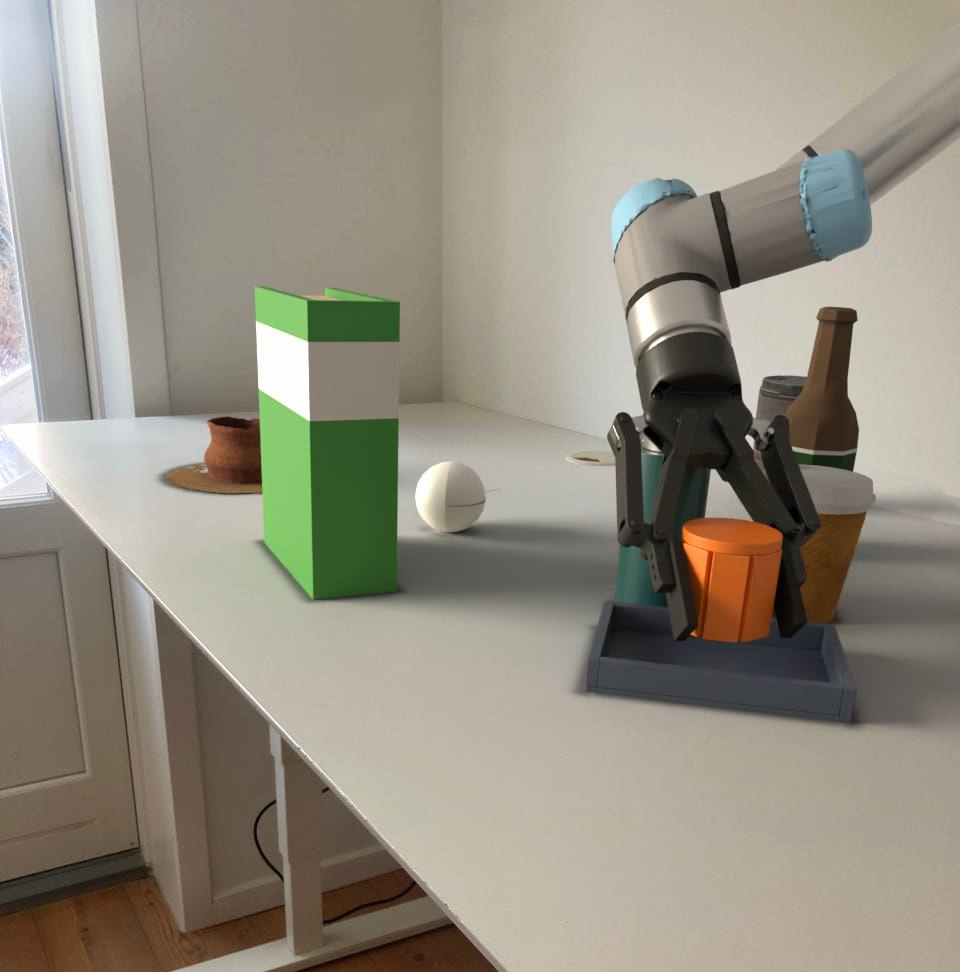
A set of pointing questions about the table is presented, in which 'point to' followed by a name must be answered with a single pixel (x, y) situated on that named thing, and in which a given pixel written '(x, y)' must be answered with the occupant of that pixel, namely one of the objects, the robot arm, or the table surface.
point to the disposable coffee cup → (832, 535)
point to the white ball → (450, 496)
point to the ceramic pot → (227, 459)
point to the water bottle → (690, 506)
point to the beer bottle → (827, 397)
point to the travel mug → (776, 400)
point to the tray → (720, 666)
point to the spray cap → (732, 576)
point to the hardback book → (330, 437)
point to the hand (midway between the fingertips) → (740, 631)
